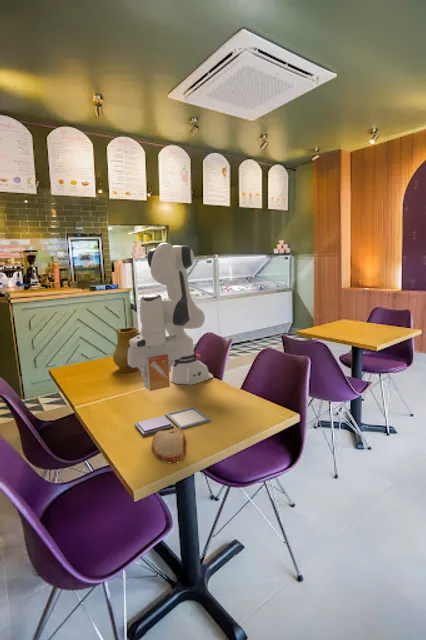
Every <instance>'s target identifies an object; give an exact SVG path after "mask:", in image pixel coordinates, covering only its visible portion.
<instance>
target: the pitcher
mask: <svg viewBox="0 0 426 640" xmlns="http://www.w3.org/2000/svg"><path fill="white" fill-rule="evenodd" d="M114 330H115V331H114V332H116V336H117V337H116V339H117V344H116V347H115V350H114V351H113V354H112V361H113V362H114V364H115V366H117V367H118V372H120V373H130V372H131V373H133V372H135V371H138V370H139V368H138V367H134V368H132V367H131V366H129V365H128V349H129V347H130V346H131V345H130V344H129V340H130V339H132V338H134V337H136V336H138V335H140V334H141V331H139V328H137V327H133V326H130V327H124V328H117V329H114Z"/></svg>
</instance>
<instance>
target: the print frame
mask: <svg viewBox="0 0 426 640" xmlns="http://www.w3.org/2000/svg"><path fill="white" fill-rule="evenodd" d="M164 416H165V417H166V418H167V419H168V420H169V421H170V422H171V423H172V424H173V425H174V426H175V427H176V428H181V429H182V430H185V429H188V427H189V428H192V427H195V426H198V425H199V426H200V425H203V424H206V423H209V422H211V420H212V419H211V418H210V417H209V416H207V415H206V414H205V413H203V412H202V411H201V410H199V409H198V408H196V407H195V406H191V407H187V408H183V409H179V410H175V411H171V412H167V413H164Z"/></svg>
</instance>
